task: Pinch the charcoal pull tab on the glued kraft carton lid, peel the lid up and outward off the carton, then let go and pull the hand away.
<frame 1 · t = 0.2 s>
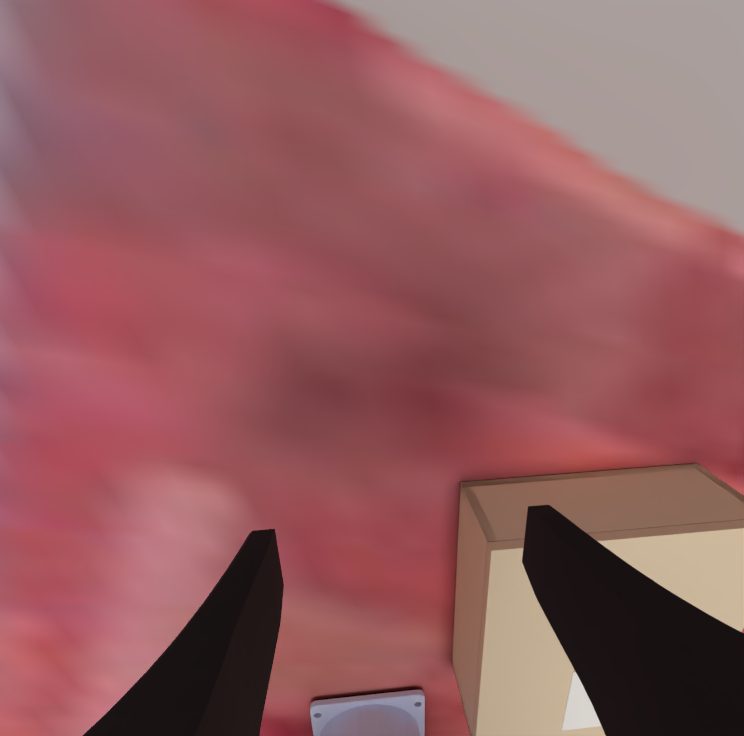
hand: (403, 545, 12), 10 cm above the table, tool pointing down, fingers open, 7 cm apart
carton lid: (632, 680, 20), point 7 cm above the table, slide at 0.0 cm
carton: (564, 571, 26), on the table
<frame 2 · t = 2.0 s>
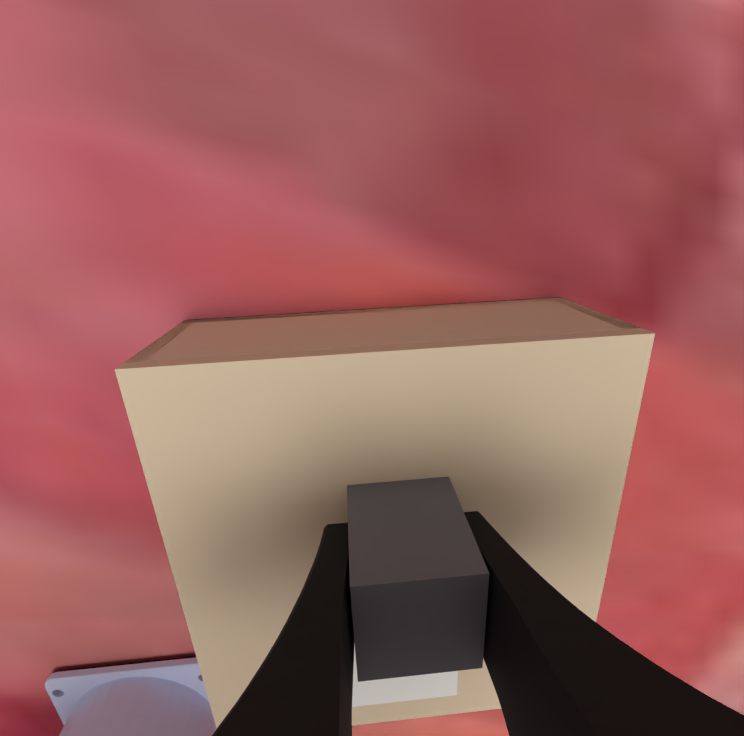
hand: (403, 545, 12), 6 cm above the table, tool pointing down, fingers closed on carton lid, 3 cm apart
carton lid: (407, 614, 12), point 7 cm above the table, slide at 0.0 cm, touching gripper
carton: (384, 478, 18), on the table
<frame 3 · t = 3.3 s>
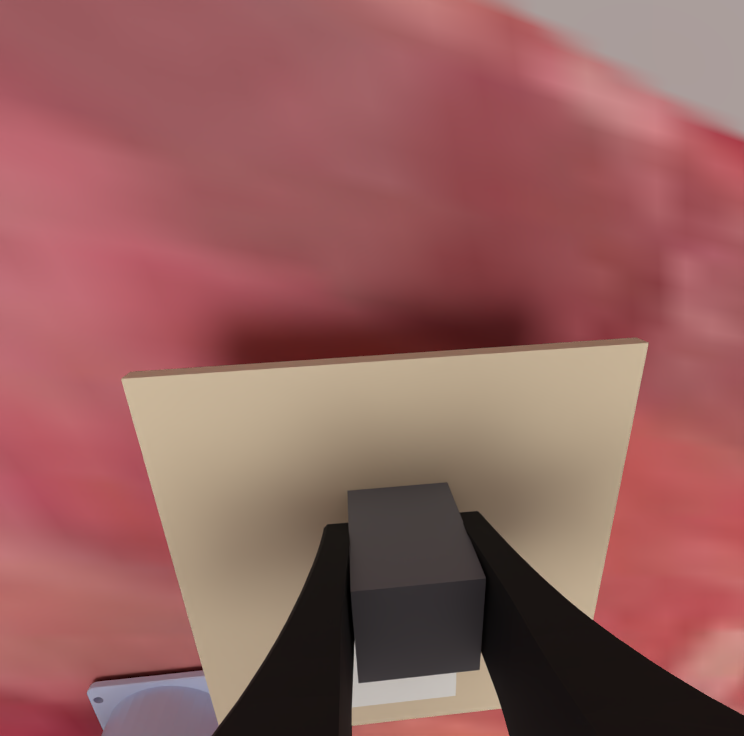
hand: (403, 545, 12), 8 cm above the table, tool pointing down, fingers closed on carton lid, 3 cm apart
carton lid: (407, 616, 12), point 8 cm above the table, slide at 3.6 cm, touching gripper
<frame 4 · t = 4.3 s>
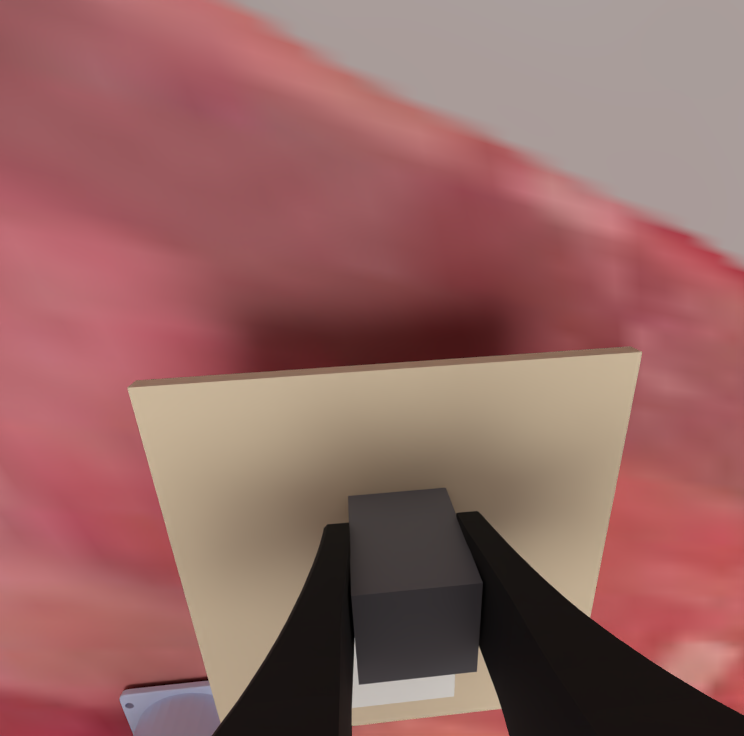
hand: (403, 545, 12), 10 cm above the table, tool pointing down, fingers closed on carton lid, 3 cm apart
carton lid: (406, 619, 12), point 10 cm above the table, slide at 7.2 cm, touching gripper
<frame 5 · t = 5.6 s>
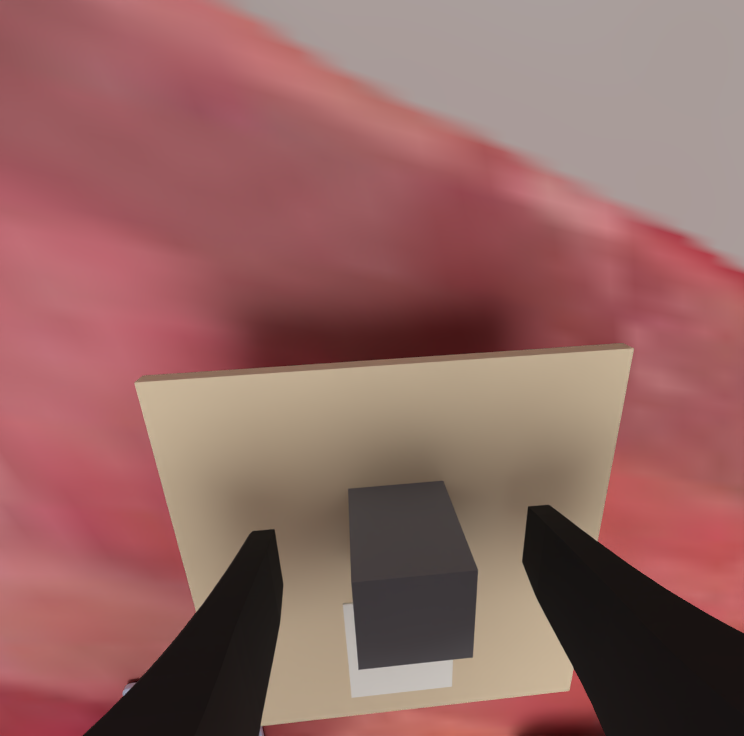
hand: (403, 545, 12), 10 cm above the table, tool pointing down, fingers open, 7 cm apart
carton lid: (404, 608, 13), point 10 cm above the table, slide at 7.3 cm
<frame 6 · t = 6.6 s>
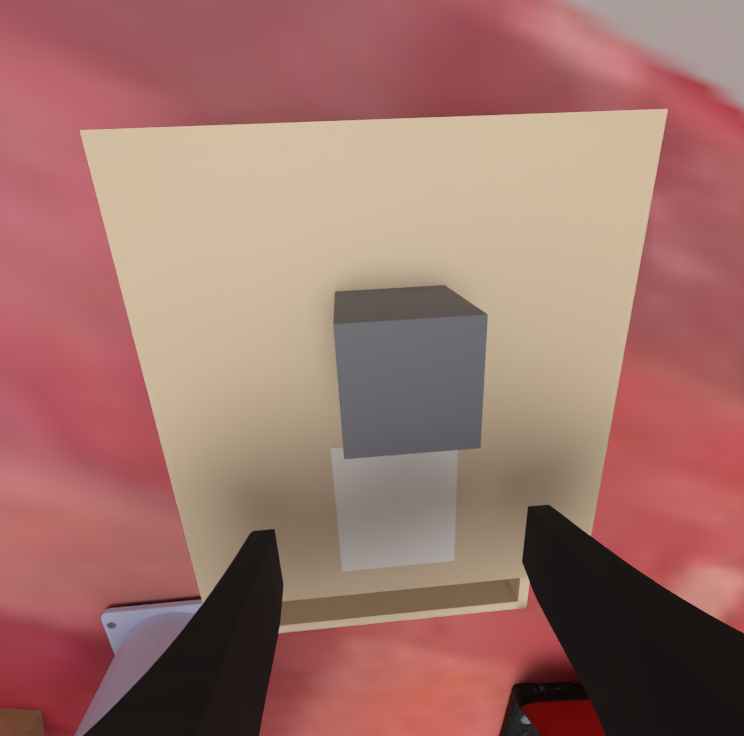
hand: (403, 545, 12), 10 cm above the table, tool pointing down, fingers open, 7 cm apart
carton lid: (400, 429, 11), point 10 cm above the table, slide at 7.3 cm
handheld game console: (583, 691, 32), on the table
carton: (377, 446, 23), on the table
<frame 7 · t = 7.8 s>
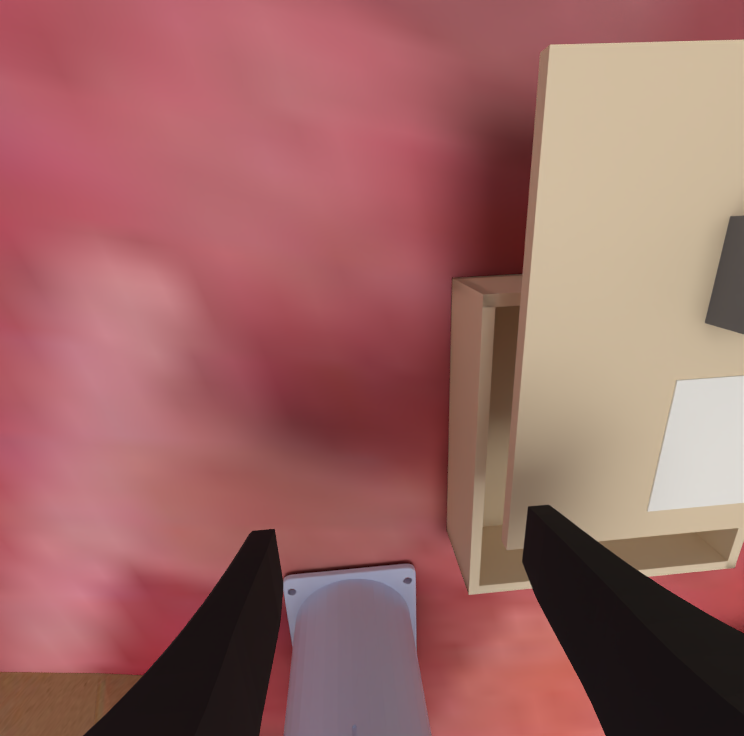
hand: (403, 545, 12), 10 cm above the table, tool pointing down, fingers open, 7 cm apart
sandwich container: (81, 709, 28), on the table
carton: (575, 409, 23), on the table
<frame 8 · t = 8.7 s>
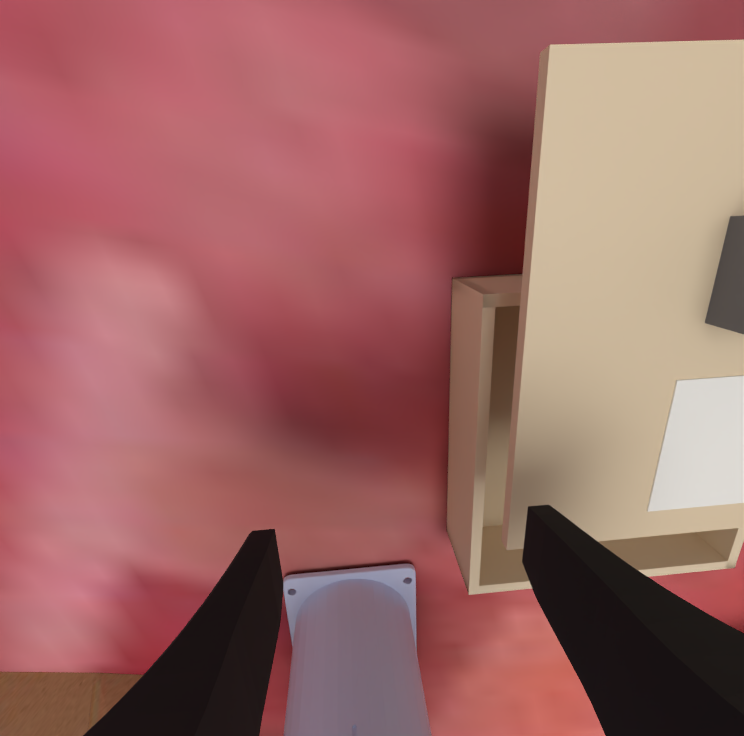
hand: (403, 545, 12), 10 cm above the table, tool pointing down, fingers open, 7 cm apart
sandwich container: (77, 709, 28), on the table
carton: (575, 409, 23), on the table
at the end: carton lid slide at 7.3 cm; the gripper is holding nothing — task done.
